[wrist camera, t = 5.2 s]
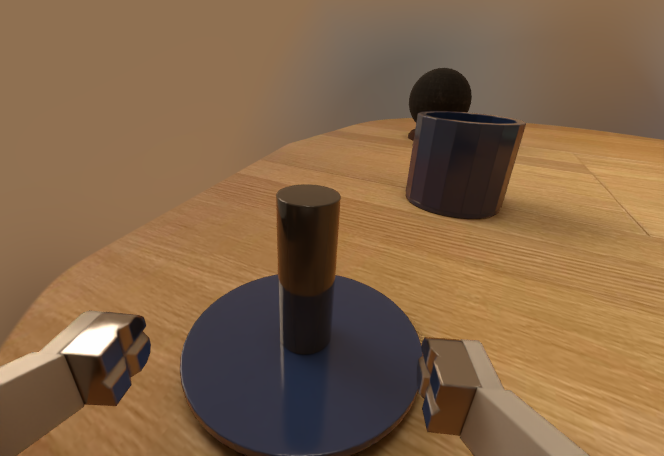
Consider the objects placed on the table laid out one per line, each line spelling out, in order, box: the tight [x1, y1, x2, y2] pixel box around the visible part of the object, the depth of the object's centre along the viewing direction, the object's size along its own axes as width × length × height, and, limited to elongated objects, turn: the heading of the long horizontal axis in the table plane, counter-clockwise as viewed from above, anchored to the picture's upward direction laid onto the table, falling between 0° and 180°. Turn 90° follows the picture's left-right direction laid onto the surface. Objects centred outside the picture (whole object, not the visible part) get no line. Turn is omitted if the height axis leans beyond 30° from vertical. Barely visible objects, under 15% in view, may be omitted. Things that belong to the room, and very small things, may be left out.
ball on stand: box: [408, 68, 472, 140], centre depth 73 cm, size 13×13×15 cm
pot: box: [406, 111, 526, 219], centre depth 37 cm, size 11×11×10 cm
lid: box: [180, 185, 423, 456], centre depth 15 cm, size 12×12×9 cm
